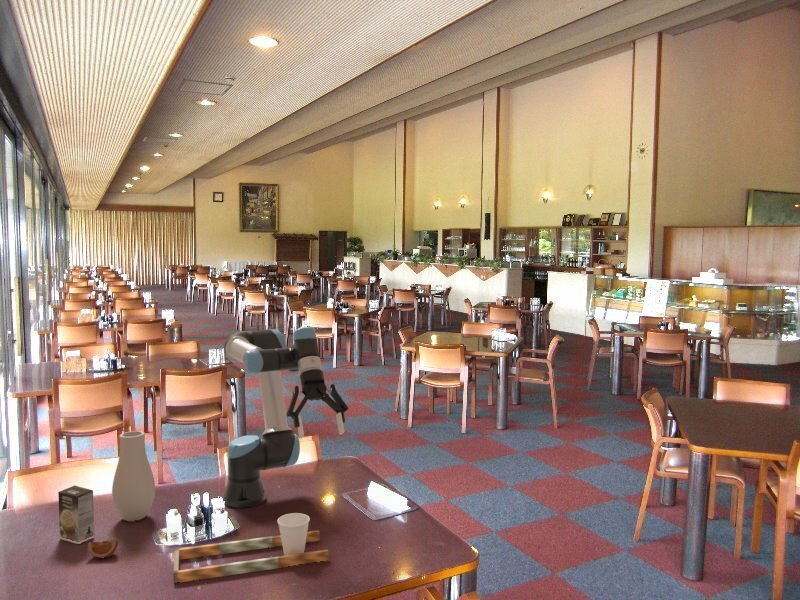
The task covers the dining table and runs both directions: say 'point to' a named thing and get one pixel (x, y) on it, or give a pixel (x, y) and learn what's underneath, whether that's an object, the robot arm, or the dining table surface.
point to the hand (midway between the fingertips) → (322, 435)
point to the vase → (133, 478)
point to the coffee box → (76, 513)
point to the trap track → (244, 565)
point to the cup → (293, 532)
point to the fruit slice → (102, 548)
